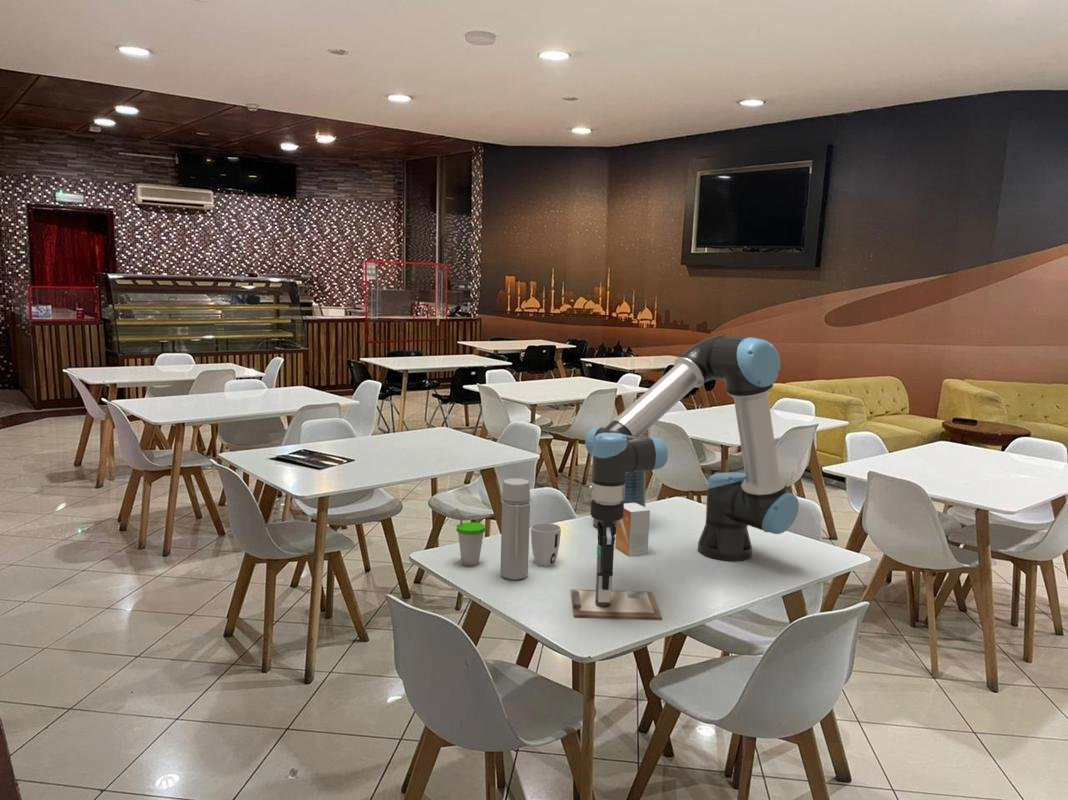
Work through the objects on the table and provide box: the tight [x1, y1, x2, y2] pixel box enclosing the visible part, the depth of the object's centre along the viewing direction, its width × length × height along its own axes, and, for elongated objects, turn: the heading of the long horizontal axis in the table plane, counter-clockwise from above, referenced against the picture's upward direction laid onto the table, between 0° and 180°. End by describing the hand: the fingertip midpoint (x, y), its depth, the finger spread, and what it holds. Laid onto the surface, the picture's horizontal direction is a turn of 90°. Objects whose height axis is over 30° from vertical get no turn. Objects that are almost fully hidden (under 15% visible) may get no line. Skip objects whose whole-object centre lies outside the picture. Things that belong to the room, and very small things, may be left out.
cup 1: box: [455, 507, 486, 568], centre depth 206 cm, size 8×8×15 cm
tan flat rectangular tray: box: [570, 588, 663, 621], centre depth 183 cm, size 20×15×2 cm
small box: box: [614, 503, 651, 557], centre depth 221 cm, size 8×6×13 cm
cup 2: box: [530, 522, 562, 567], centre depth 209 cm, size 8×8×10 cm
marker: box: [595, 544, 613, 607], centre depth 180 cm, size 4×4×14 cm
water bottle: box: [499, 477, 533, 581], centre depth 197 cm, size 9×8×25 cm
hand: (603, 597), depth 181 cm, fingers closed on marker, 3 cm apart
